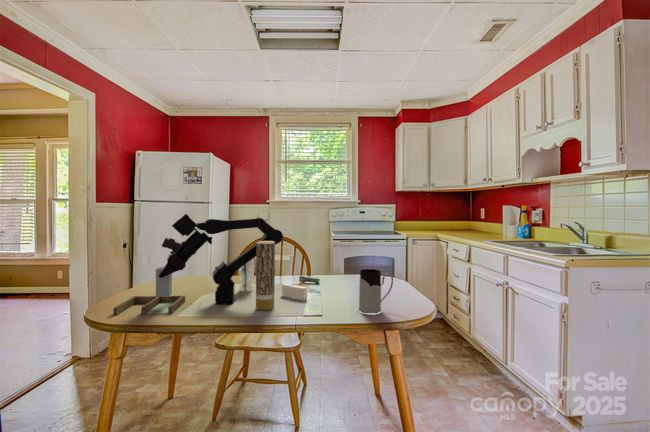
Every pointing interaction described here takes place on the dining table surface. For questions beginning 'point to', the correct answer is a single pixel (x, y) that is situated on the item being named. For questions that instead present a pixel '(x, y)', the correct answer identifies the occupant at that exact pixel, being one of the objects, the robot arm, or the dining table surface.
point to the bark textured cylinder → (265, 275)
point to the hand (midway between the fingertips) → (160, 275)
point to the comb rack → (152, 304)
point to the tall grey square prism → (163, 284)
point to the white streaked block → (247, 276)
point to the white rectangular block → (294, 291)
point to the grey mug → (371, 290)
